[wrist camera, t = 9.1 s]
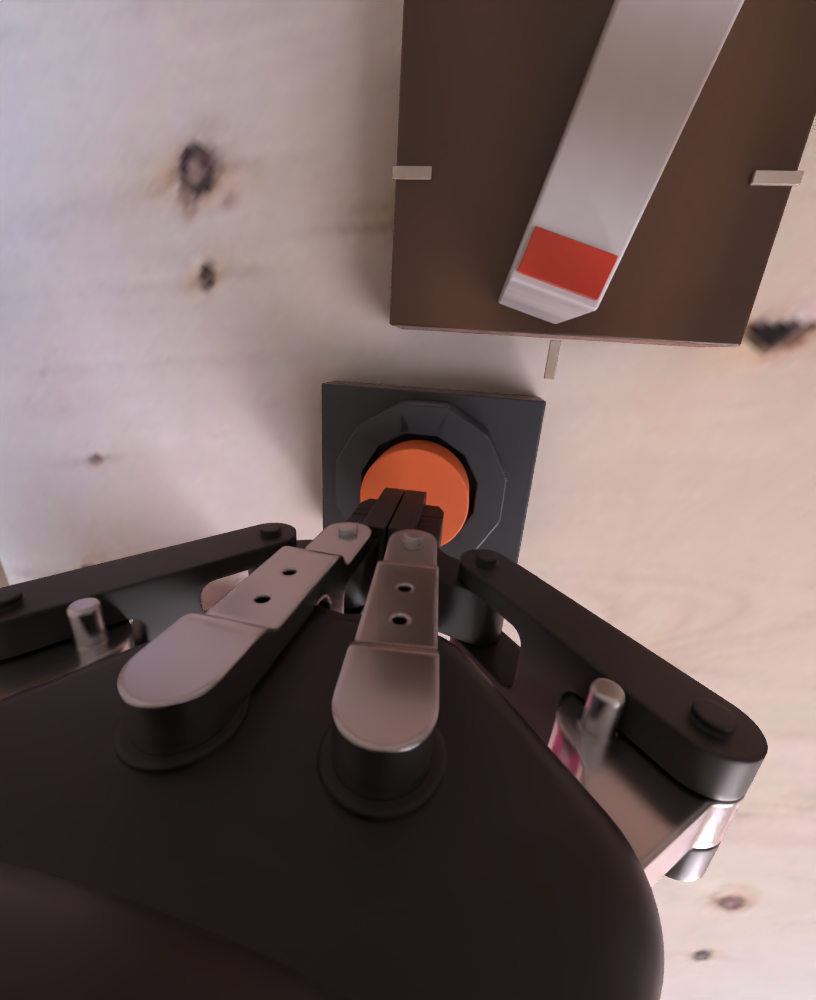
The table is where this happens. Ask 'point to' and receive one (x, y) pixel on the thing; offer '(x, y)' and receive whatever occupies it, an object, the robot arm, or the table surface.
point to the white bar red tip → (614, 151)
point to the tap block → (532, 145)
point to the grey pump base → (450, 423)
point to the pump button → (423, 479)
